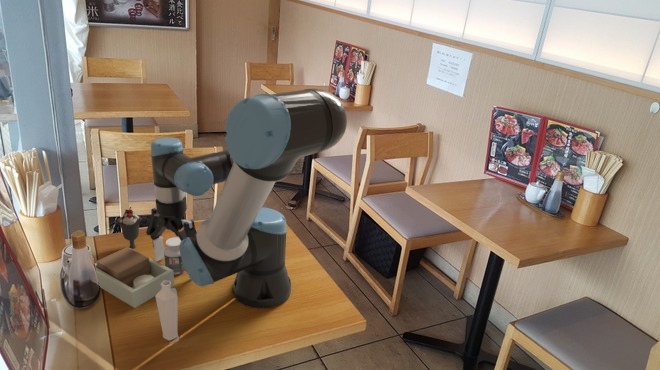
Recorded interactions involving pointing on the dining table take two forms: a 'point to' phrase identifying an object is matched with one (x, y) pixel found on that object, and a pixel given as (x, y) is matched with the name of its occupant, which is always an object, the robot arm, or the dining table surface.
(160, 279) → the tote
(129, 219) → the sundae
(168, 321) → the perfume bottle
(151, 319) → the dining table surface
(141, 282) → the white half dome
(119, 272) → the walnut block
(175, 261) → the pill bottle
